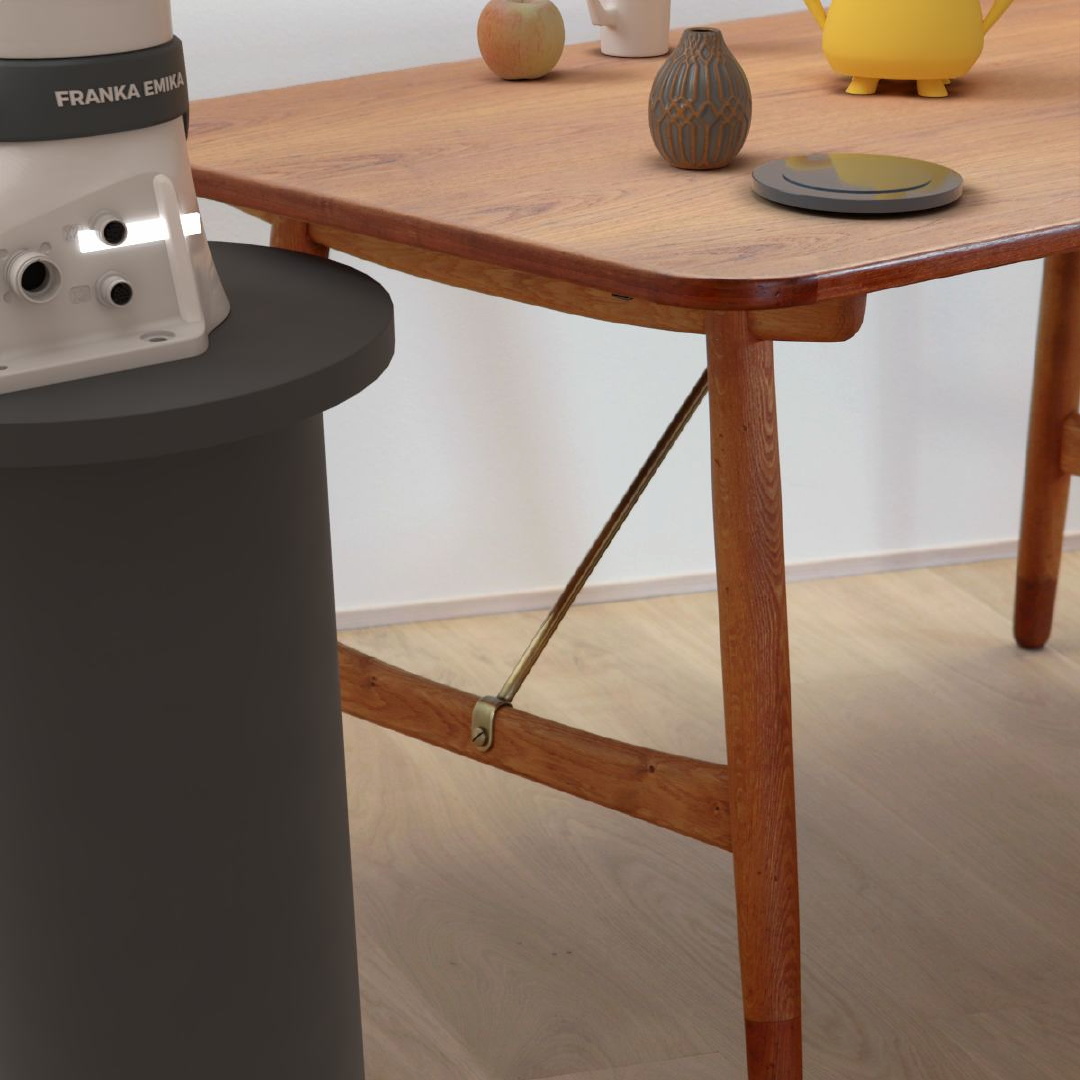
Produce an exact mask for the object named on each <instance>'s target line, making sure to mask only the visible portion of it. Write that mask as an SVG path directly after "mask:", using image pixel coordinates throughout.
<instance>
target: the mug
mask: <svg viewBox="0 0 1080 1080" xmlns="http://www.w3.org/2000/svg"><path fill="white" fill-rule="evenodd" d="M671 2H672V0H586V5H587V9H588V14H589V17H590V22H591V24H592V25H593V26H597V27H599V29H600V30H599V33H600V34H599V35H600V51H601V53H602V54H603V55H606V56H610V57H617V58H618V57H619V58H651V57H657V56H664V55H666V54H667V53H668V52H669V45H670V43H669V42H670V28H671V27H670V25H671V8H672V7H671V5H672V3H671Z"/></svg>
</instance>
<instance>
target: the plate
mask: <svg viewBox="0 0 1080 1080" xmlns="http://www.w3.org/2000/svg"><path fill="white" fill-rule="evenodd" d="M963 187H964V178H963V176H962V175H961V174H960V173H959V172H958V171H956V170H954V169H953V168H950V167H947V166H945V165H942V164H939V163H936V162H931V161H926V160H922V159H916V158H911V157H904V156H895V155H887V154H886V155H885V154H872V153H846V152H845V153H844V152H843V153H842V152H841V153H840V152H839V153H815V154H803V155H795V156H789V157H783V158H778V159H774V160H769V161H767V162H765V163H762V164H760V165H758V166H756V167H755V168H754V169H753V170H752V173H751V189H752V190H753V191H754V192H755V193H756V194H757V195H759V196H761V197H763V198H764V199H767V200H769V201H771V202H775V203H779V204H782V205H786V206H791V207H795V208H801V209H807V210H814V211H815V210H816V211H821V212H822V211H823V212H834V213H835V212H836V213H849V214H851V213H852V214H891V213H905V212H906V213H907V212H916V211H923V210H928V209H934V208H938V207H941V206H945V205H948V204H951V203H953V202H955V201H957V200H958V199H959V198H960V197H961V196H962V194H963Z"/></svg>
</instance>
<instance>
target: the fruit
mask: <svg viewBox="0 0 1080 1080" xmlns="http://www.w3.org/2000/svg"><path fill="white" fill-rule="evenodd" d="M476 28H477V29H476V38H477V45H478V50H479V52H480V55H481V57H482V60H483V61H484V63H485V64H486V66H487V67H488V69H489V70H490V71H491V72H492V73H493V74H494V75H496V77H498V78H500V79H502V80H503V79H504V80H523V79H526V80H534V79H538V78H541V77H543V76H546V75H547V74H548V73H550V72H551V71H552V70H553V69H554V68H555V67H556V66H557V64H558V62H559V61H560V59H561V57H562V55H563V52H564V48H565V43H566V28H565V23H564V18H563V15H562V13H561V11H560V9H559V8H558V7H557V6H556V5H555V3H554V2H553V1H552V0H489V2H487V3H486V4H485V6H483V9H482V10H481V12H480V15H479V17H478V21H477V27H476Z"/></svg>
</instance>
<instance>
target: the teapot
mask: <svg viewBox="0 0 1080 1080" xmlns="http://www.w3.org/2000/svg"><path fill="white" fill-rule="evenodd" d="M802 1H803V2H804V5H805V6H806V8H807V10H808V11H809V12H810V14H811V16H812V17H813V18H814V20H815V22H816V23H817V25H818V26H819V27H820V30H821V32H822V38H821V47H822V53H823V55H824V57H825V59H826V61H827V63H828V64H829V66H830V68H831V69H832V71H833V72H834V73H836V74H839V75H844V76H848V77H849V76H851V77H852V78H851V82H849V85H848V87H847V88H846V90H845V93H847V94H853V95H871V94H875V93H876V91H877V89H878V85H879V82H880V81H881V80H882V79H885V80H915V81H916V89H917V94H918V95H919V96H921V97H929V98H941V97H943V98H944V97H947V96H948V95H949V94H948V91H947V89H946V86H945V85H949V84H951V80H950V79H956V78H957V79H958V78H961V77H964V76H966V75H968V72H970V70H971V69H972V68H973V66H974V65H975V64H976V62H977V61H978V60H979V58H980V57H981V55H982V52H983V50H984V46H985V45H984V42H985V36H986V34H987V33H988V32H989V31H990V30H991V29H992V28H993V26H994V25H995V24H996V23H997V22H998V21H999V20H1000V19H1001V17H1002V16H1003V15H1004V14H1005V13H1006V12H1007V10H1008V9H1009V8H1010V6H1011V5H1012V3H1014V1H1015V0H994V2H993V3H992V6H991V7H990V9H989V10H988V12H987V14H986V15H985V17H983V12H982V7H981V1H980V0H831V1H830V5H829V7H828V11H827V13H826V11H825V9H824V7H823V4H822V2H821V0H802Z"/></svg>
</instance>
